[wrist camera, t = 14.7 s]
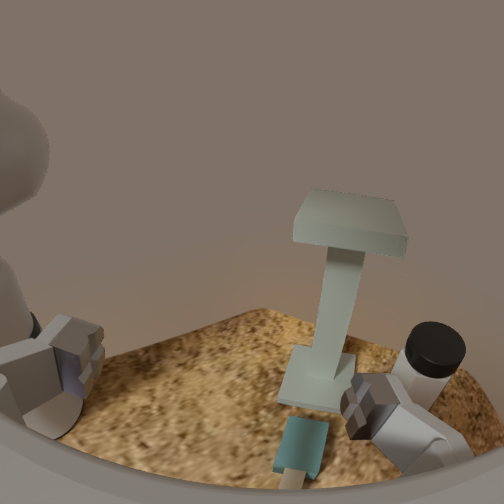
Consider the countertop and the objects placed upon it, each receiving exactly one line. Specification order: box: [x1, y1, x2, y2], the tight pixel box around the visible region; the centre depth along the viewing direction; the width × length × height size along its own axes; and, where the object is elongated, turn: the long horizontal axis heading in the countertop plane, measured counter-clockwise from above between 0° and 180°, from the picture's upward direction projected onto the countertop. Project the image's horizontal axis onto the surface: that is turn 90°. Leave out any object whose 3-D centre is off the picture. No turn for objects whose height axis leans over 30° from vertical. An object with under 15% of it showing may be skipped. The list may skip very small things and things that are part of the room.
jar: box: [391, 322, 466, 411], centre depth 33 cm, size 9×8×12 cm
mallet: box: [272, 415, 329, 489], centre depth 25 cm, size 5×18×3 cm, turn 162°
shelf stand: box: [277, 189, 409, 414], centre depth 35 cm, size 10×11×26 cm
